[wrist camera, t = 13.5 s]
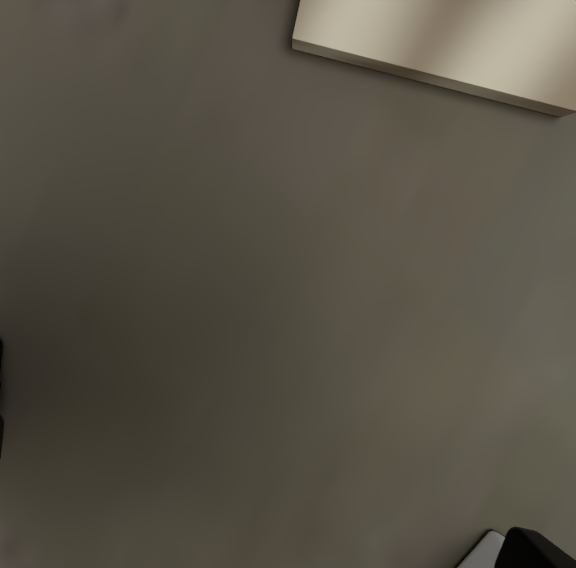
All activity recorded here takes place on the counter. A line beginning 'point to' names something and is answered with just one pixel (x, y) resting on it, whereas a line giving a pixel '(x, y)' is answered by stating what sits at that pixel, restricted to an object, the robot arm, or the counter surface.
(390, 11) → the birch board
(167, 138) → the counter surface
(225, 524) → the counter surface
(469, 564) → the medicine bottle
